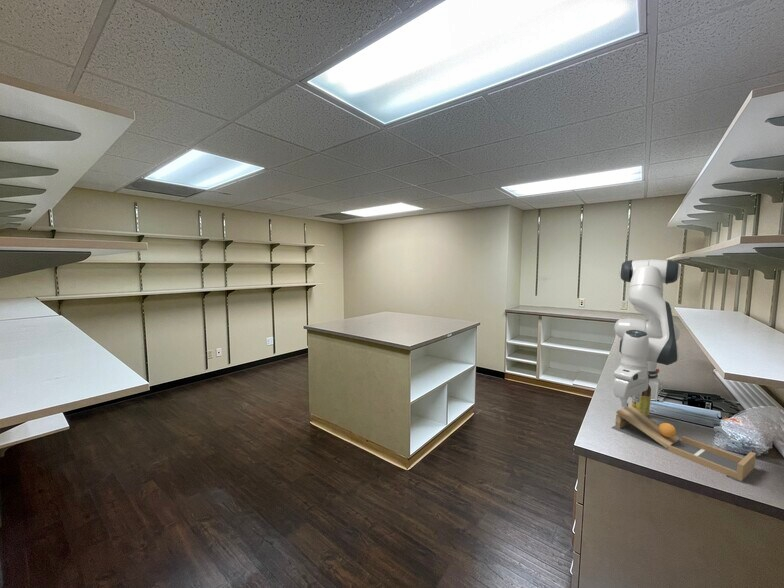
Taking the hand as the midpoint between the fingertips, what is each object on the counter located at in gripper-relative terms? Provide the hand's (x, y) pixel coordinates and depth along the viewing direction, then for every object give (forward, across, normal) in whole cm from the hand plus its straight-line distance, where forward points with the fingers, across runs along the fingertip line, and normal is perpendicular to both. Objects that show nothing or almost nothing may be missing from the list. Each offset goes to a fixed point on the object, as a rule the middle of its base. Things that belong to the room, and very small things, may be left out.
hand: (630, 404), depth 129 cm
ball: (+6, 0, +14) cm, 16 cm away
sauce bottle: (+10, -17, -3) cm, 20 cm away
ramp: (+10, 0, +6) cm, 11 cm away
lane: (+10, 0, +15) cm, 18 cm away
